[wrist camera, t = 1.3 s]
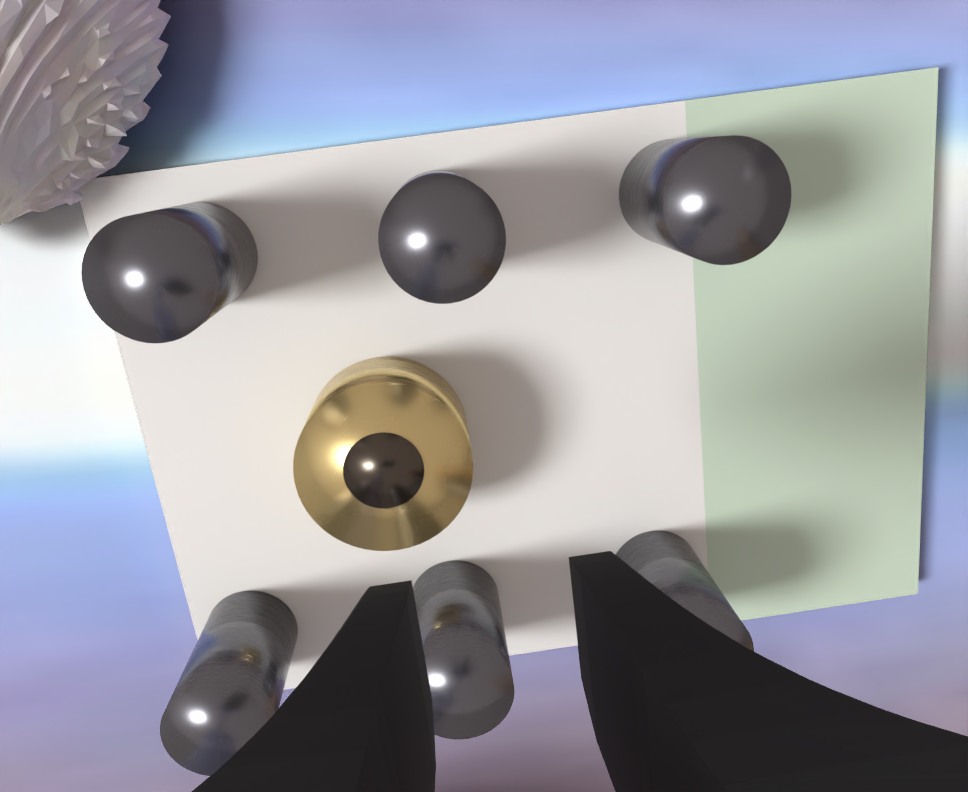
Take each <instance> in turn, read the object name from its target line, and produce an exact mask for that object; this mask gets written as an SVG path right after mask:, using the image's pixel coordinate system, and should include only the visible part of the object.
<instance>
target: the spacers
mask: <svg viewBox="0 0 968 792" xmlns="http://www.w3.org/2000/svg"><path fill="white" fill-rule="evenodd" d="M791 194H792V193H791V183H790V178H789V175H788V172H787V169H786V167H785V165H784V163H783V162H782V160H781V159H780V157H779V156H778V155H777V154H776V153H775V152H774V150H773V149H771V148H770V147H769V146H767V145H766V144H764V143H763V142H761V141H759V140H756V139H754V138H751V137H746V136H739V135H732V136H715V137H699V138H682V139H666V140H661V141H657V142H654V143H652V144H650V145H648V146H646V147H645V148H643V149H642V150H640V151H639V152H638V153H637V154H636V155H635V156H634V157H633V158H632V159H631V161H630V162H629V163H628V165H627V167H626V169H625V170H624V173H623V175H622V178H621V182H620V187H619V203H620V208H621V211H622V214H623V216H624V219H625V220H626V222H627V224H628V225H629V226H630V227H631V229H632V230H633V231H635V232H636V233H637V234H638V235H640V236H641V237H643V238H645V239H647V240H649V241H652V242H654V243H657V244H660V245H662V246H665V247H667V248H670V249H673V250H675V251H678V252H680V253H683V254H685V255H688V256H691V257H693V258H696V259H698V260H701V261H704V262H707V263H710V264H715V265H733V264H737V263H741V262H744V261H747V260H749V259H751V258H753V257H755V256H757V255H758V254H760V253H761V252H763V251H764V250H765V249H766V248H768V247H769V246H770V245H771V244H772V242H773V241H774V240H775V239H776V238H777V236H778V235H779V234H780V232H781V230H782V228H783V227H784V225H785V222H786V220H787V217H788V214H789V211H790V205H791ZM378 244H379V251H380V256H381V259H382V262H383V265H384V267H385V269H386V270H387V272H388V274H389V275H390V277H391V278H392V280H393V281H394V282H395V283H396V284H397V285H398V286H399V287H400V288H401V289H402V290H404V291H405V292H406V293H408V294H410V295H411V296H413V297H415V298H417V299H419V300H422V301H425V302H430V303H435V304H449V303H455V302H460V301H463V300H466V299H468V298H470V297H472V296H474V295H476V294H477V293H479V292H480V291H481V290H483V289H484V288H485V287H486V286H487V285H488V284H489V283H490V282H491V281H492V279H493V278H494V277H495V275H496V274H497V272H498V270H499V268H500V266H501V264H502V261H503V258H504V253H505V248H506V231H505V226H504V222H503V219H502V216H501V213H500V211H499V209H498V207H497V206H496V204H495V203H494V201H493V200H492V199H491V197H490V196H489V195H488V194H487V193H486V192H485V191H484V190H483V189H482V188H480V187H479V186H477V185H476V184H474V183H473V182H471V181H469V180H468V179H466V178H465V177H463V176H461V175H459V174H456V173H453V172H449V171H443V170H433V171H427V172H423V173H421V174H418V175H416V176H414V177H412V178H411V179H409V180H408V181H407V182H406V183H404V184H403V185H402V186H401V188H400V189H399V190H398V191H397V193H396V194H395V195H394V197H393V198H392V199H391V200H390V202H389V204H388V205H387V207H386V209H385V211H384V213H383V215H382V218H381V222H380V226H379V232H378ZM257 264H258V253H257V247H256V243H255V240H254V238H253V235H252V233H251V231H250V230H249V228H248V227H247V225H246V224H245V223H244V222H243V221H242V220H241V219H240V217H238V216H237V215H236V214H235V213H233V212H232V211H230V210H229V209H227V208H225V207H223V206H220V205H217V204H214V203H209V202H192V203H187V204H182V205H178V206H173V207H168V208H163V209H158V210H154V211H149V212H144V213H139V214H134V215H130V216H125V217H122V218H119V219H116V220H114V221H112V222H110V223H108V224H107V225H106V226H104V227H103V228H102V229H100V230H99V231H98V232H97V233H96V234H95V236H94V237H93V238H92V240H91V241H90V243H89V245H88V247H87V249H86V252H85V254H84V258H83V263H82V281H83V286H84V290H85V293H86V296H87V299H88V301H89V303H90V305H91V306H92V308H93V309H94V311H95V312H96V314H97V315H98V316H99V317H100V318H101V320H102V321H103V322H105V323H106V324H107V325H108V326H109V327H110V328H112V329H113V330H114V331H116V332H118V333H119V334H121V335H123V336H125V337H127V338H130V339H132V340H136V341H139V342H145V343H166V342H171V341H175V340H178V339H181V338H183V337H185V336H187V335H188V334H190V333H191V332H193V331H194V330H195V329H197V328H198V327H199V326H201V325H202V324H203V323H205V322H206V321H207V320H208V319H210V318H211V317H212V316H214V315H215V314H216V313H218V312H219V311H220V310H222V309H223V308H224V307H226V306H227V305H228V304H229V303H231V302H232V301H233V300H235V299H236V298H237V297H239V296H240V295H241V294H242V293H243V292H244V291H245V290H246V289H247V288H248V287H249V286H250V284H251V282H252V281H253V278H254V276H255V273H256V270H257ZM616 556H618V557H619V558H620V559H622V560H623V561H624V562H625V563H627V564H628V565H629V566H630V567H632V568H633V569H634V570H635V571H637V572H638V573H639V574H640V575H642V576H643V577H644V578H645V579H647V580H648V581H649V582H650V583H652V584H653V585H654V586H656V587H657V588H658V589H659V590H661V591H662V592H663V593H665V594H666V595H667V596H669V597H670V598H671V599H673V600H674V601H675V602H677V603H678V604H680V605H681V606H682V607H684V608H685V609H687V610H688V611H689V612H691V613H692V614H694V615H695V616H697V617H698V618H700V619H701V620H703V621H704V622H706V623H707V624H709V625H710V626H712V627H714V628H715V629H717V630H718V631H720V632H722V633H723V634H725V635H727V636H728V637H730V638H731V639H733V640H735V641H736V642H738V643H740V644H741V645H743V646H745V647H746V648H748V649H750V650H752V651H754V648H753V642H752V638H751V636H750V634H749V632H748V631H747V629H746V627H745V626H744V625H743V623H742V622H741V620H740V619H739V617H738V616H737V614H736V613H735V611H734V610H733V608H732V607H731V605H730V604H729V602H728V601H727V599H726V598H725V596H724V595H723V593H722V592H721V590H720V589H719V587H718V586H717V585H716V583H715V582H714V580H713V579H712V577H711V576H710V574H709V573H708V571H707V570H706V568H705V567H704V565H703V564H702V562H701V561H700V559H699V558H698V556H697V555H696V553H695V552H694V550H693V549H692V547H691V546H690V545H689V544H688V542H687V541H686V540H684V539H683V538H682V537H680V536H679V535H677V534H674V533H671V532H668V531H660V530H655V531H648V532H644V533H641V534H638V535H636V536H634V537H633V538H631V539H629V540H628V541H627V542H626V543H624V544H623V545H622V547H621V548H620V549H619V550H618V552H617V553H616ZM413 592H414V598H415V603H416V609H417V615H418V621H419V626H420V632H421V638H422V644H423V650H424V655H425V661H426V667H427V673H428V679H429V684H430V690H431V696H432V704H433V721H434V734H435V735H437V736H440V737H444V738H449V739H468V738H473V737H477V736H480V735H482V734H484V733H487V732H488V731H490V730H492V729H493V728H495V727H496V726H497V725H498V724H499V723H500V722H501V721H503V719H504V718H505V717H506V715H507V714H508V712H509V710H510V708H511V706H512V703H513V699H514V684H513V678H512V672H511V666H510V660H509V654H508V648H507V642H506V636H505V630H504V624H503V618H502V612H501V606H500V600H499V594H498V589H497V586H496V583H495V582H494V580H493V578H492V577H491V576H490V574H489V573H488V572H487V571H485V570H484V569H483V568H481V567H480V566H478V565H476V564H473V563H471V562H467V561H461V560H451V561H445V562H441V563H438V564H436V565H434V566H432V567H430V568H429V569H427V570H426V571H425V572H423V573H422V574H421V576H420V577H419V578H418V579H417V581H416V582H415V584H414V586H413ZM297 636H298V626H297V621H296V618H295V616H294V614H293V612H292V611H291V609H290V608H289V607H288V606H287V605H286V604H285V603H284V602H283V601H282V600H280V599H279V598H277V597H275V596H273V595H271V594H268V593H265V592H261V591H250V590H249V591H241V592H237V593H234V594H231V595H229V596H227V597H225V598H224V599H222V600H221V601H220V602H219V603H218V604H217V605H216V606H215V607H214V608H213V610H212V612H211V614H210V616H209V618H208V620H207V622H206V624H205V626H204V629H203V631H202V633H201V635H200V637H199V639H198V641H197V644H196V646H195V648H194V650H193V652H192V654H191V656H190V658H189V661H188V663H187V665H186V667H185V669H184V671H183V673H182V676H181V678H180V680H179V682H178V684H177V686H176V688H175V691H174V693H173V695H172V697H171V699H170V701H169V703H168V705H167V708H166V710H165V712H164V714H163V716H162V720H161V724H160V735H161V740H162V742H163V745H164V747H165V749H166V751H167V752H168V754H169V755H170V756H171V757H172V758H173V759H174V760H175V761H176V762H177V763H178V764H180V765H181V766H183V767H184V768H186V769H188V770H190V771H192V772H195V773H198V774H202V775H207V776H211V775H212V774H214V773H215V772H216V771H217V770H218V769H219V768H220V767H221V766H223V765H224V764H225V763H226V762H227V761H228V760H229V759H230V758H231V757H232V756H233V755H234V754H235V753H236V752H237V751H238V750H239V749H240V748H241V747H242V746H244V745H245V744H246V743H247V742H248V741H249V740H250V739H251V738H252V737H253V736H254V735H255V734H256V733H257V732H258V731H259V730H260V729H261V727H262V726H263V725H264V724H265V723H266V722H267V721H268V720H269V719H270V718H271V717H272V716H273V715H274V714H275V712H276V711H277V710H278V708H279V705H280V701H281V697H282V693H283V689H284V686H285V682H286V678H287V674H288V671H289V667H290V663H291V659H292V656H293V652H294V648H295V644H296V641H297Z"/></svg>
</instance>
